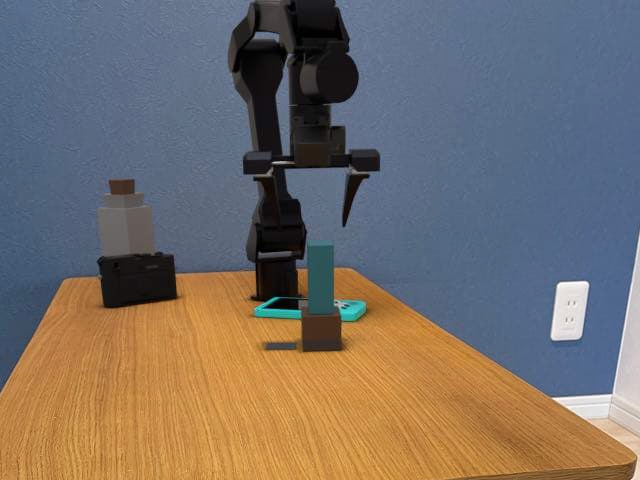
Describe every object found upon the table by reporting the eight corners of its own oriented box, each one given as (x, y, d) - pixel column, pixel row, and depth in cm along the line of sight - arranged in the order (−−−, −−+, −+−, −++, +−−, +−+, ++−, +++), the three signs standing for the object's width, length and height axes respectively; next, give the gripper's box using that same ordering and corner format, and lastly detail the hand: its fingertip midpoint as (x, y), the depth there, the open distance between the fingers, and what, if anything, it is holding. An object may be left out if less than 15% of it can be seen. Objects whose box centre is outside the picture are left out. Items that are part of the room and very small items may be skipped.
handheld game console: (354, 321, 126) (354, 312, 125) (252, 316, 130) (252, 307, 130) (370, 308, 134) (370, 299, 133) (274, 304, 139) (274, 295, 138)
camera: (165, 292, 150) (161, 244, 146) (184, 298, 145) (180, 249, 141) (88, 303, 143) (82, 253, 139) (106, 309, 138) (99, 258, 134)
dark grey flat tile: (265, 349, 112) (265, 349, 112) (267, 342, 115) (267, 342, 115) (296, 349, 112) (296, 348, 112) (296, 342, 115) (296, 342, 115)
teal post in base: (301, 340, 116) (299, 240, 110) (338, 339, 116) (338, 239, 110) (302, 351, 111) (301, 246, 105) (341, 350, 111) (341, 245, 105)
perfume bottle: (158, 283, 158) (148, 178, 150) (133, 289, 153) (122, 181, 145) (130, 280, 162) (120, 178, 154) (106, 286, 157) (93, 180, 149)
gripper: (238, 106, 108) (244, 236, 115) (386, 102, 108) (383, 232, 115) (241, 107, 118) (246, 226, 125) (376, 103, 118) (374, 223, 125)
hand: (311, 227), depth 122 cm, fingers open, 9 cm apart
